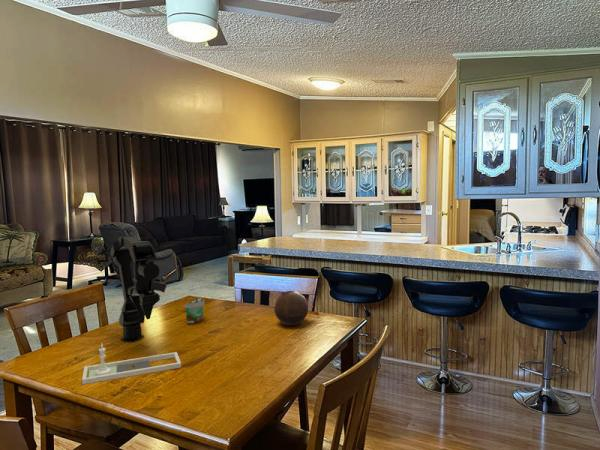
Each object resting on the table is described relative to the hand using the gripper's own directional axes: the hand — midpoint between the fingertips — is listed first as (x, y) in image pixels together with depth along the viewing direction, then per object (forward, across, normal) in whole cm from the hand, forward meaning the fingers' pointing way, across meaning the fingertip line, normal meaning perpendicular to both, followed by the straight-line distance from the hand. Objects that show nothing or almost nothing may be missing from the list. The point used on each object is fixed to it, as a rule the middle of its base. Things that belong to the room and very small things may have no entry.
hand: (144, 316), depth 160 cm
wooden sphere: (+13, -11, -61) cm, 63 cm away
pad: (+13, -13, +18) cm, 26 cm away
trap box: (+13, -15, +9) cm, 22 cm away
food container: (+13, +20, -30) cm, 38 cm away
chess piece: (+13, -13, +18) cm, 25 cm away
